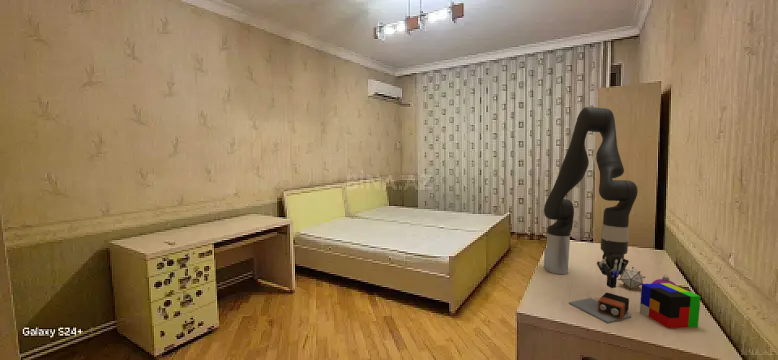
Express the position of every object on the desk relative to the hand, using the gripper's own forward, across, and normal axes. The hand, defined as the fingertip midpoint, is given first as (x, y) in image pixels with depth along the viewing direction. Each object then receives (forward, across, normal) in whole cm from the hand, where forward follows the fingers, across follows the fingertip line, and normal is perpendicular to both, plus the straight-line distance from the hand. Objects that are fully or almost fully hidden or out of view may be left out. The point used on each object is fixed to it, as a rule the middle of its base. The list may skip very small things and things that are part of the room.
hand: (611, 287), depth 108 cm
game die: (+8, -25, -9) cm, 28 cm away
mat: (+8, +6, 0) cm, 9 cm away
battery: (+5, -2, +1) cm, 5 cm away
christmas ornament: (+8, -24, +3) cm, 25 cm away
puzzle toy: (+8, -10, +12) cm, 17 cm away
